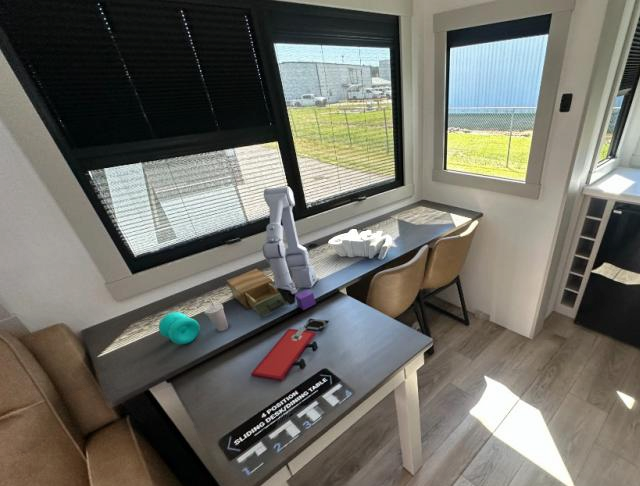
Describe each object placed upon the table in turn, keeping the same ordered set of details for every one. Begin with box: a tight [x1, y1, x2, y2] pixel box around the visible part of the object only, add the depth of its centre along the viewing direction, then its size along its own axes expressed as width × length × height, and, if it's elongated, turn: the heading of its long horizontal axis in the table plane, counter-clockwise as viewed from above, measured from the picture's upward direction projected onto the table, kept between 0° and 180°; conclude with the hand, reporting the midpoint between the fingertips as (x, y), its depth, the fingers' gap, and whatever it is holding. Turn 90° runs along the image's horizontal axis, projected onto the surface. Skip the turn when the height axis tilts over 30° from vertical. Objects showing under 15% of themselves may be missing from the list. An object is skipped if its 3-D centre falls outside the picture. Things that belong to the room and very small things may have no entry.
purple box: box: [295, 288, 317, 311], centre depth 130 cm, size 4×6×6 cm
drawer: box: [244, 283, 290, 319], centre depth 129 cm, size 19×12×6 cm, turn 45°
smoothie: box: [203, 296, 229, 332], centre depth 118 cm, size 6×6×14 cm
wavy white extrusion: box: [328, 228, 393, 260], centre depth 167 cm, size 35×16×11 cm, turn 71°
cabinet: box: [226, 268, 275, 310], centre depth 138 cm, size 16×14×8 cm
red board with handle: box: [250, 318, 330, 382], centre depth 109 cm, size 30×3×15 cm
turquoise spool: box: [158, 311, 201, 345], centre depth 115 cm, size 10×10×10 cm
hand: (290, 302), depth 126 cm, fingers open, 3 cm apart
